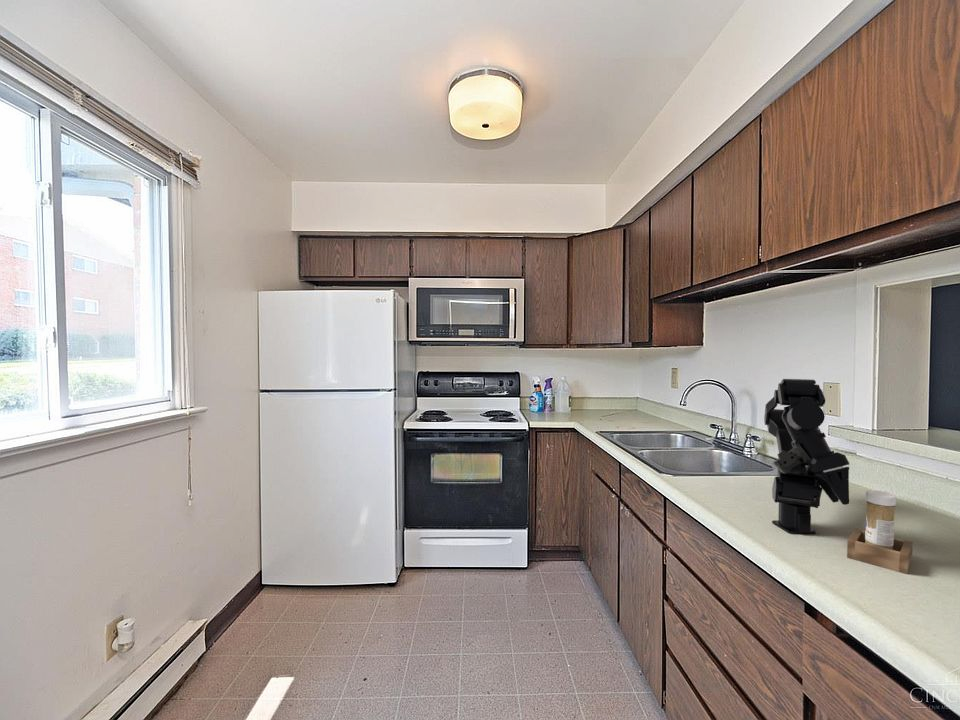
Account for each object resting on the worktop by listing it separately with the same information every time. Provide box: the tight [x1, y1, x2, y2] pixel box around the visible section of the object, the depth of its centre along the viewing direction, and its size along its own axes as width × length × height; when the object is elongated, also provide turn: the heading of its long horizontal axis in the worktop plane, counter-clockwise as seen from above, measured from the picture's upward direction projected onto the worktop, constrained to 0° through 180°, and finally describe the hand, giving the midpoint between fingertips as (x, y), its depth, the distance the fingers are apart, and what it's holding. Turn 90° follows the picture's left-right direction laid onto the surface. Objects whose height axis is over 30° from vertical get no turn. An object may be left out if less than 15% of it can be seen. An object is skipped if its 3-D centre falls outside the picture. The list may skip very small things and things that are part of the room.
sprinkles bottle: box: [864, 489, 897, 550], centre depth 91 cm, size 5×5×13 cm
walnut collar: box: [846, 528, 914, 575], centre depth 92 cm, size 9×9×4 cm
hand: (840, 503), depth 96 cm, fingers open, 9 cm apart
